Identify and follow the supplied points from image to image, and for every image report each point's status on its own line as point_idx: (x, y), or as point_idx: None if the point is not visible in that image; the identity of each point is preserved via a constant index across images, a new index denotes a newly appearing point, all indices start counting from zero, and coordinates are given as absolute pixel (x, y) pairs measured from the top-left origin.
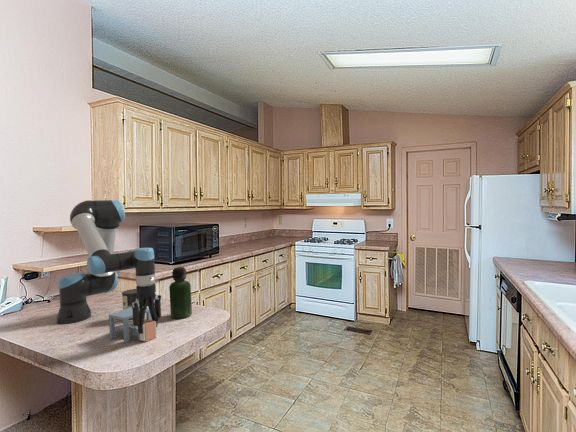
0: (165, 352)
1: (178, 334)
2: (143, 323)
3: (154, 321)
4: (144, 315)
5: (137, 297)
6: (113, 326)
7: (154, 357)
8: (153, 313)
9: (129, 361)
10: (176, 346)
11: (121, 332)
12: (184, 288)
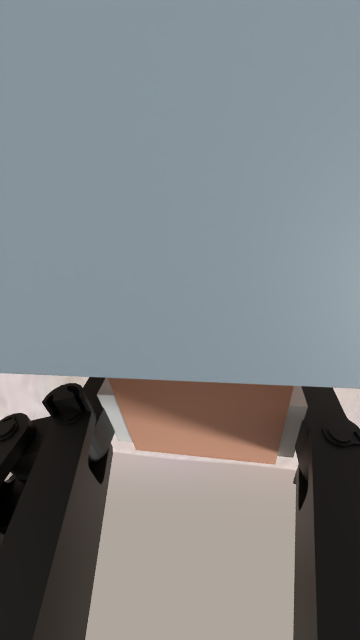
0: (159, 455)
1: (350, 409)
2: (151, 407)
3: (267, 460)
4: (84, 616)
5: None
6: None
7: (114, 448)
8: (296, 619)
9: (38, 408)
10: (216, 460)
11: None
12: None
